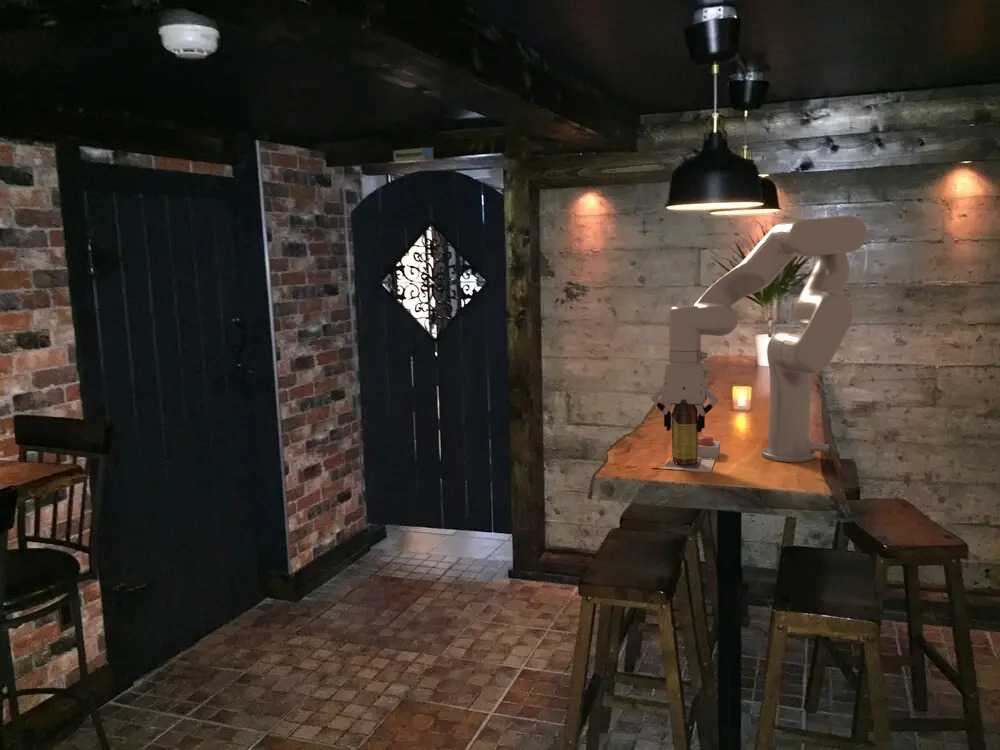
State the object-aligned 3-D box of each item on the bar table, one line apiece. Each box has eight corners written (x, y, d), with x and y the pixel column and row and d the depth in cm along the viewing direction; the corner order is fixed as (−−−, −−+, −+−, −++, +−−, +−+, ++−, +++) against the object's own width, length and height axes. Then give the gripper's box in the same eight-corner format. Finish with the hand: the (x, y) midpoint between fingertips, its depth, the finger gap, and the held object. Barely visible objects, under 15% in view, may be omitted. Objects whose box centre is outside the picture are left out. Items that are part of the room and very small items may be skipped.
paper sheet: (715, 460, 205) (715, 458, 205) (710, 472, 194) (710, 470, 193) (658, 456, 209) (658, 455, 209) (650, 468, 198) (650, 467, 198)
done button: (713, 447, 211) (713, 436, 210) (712, 451, 207) (712, 439, 207) (697, 447, 212) (697, 435, 212) (695, 450, 208) (695, 438, 208)
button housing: (719, 452, 212) (720, 441, 212) (717, 459, 205) (717, 447, 205) (692, 451, 214) (692, 439, 214) (688, 457, 208) (689, 445, 207)
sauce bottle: (679, 458, 206) (680, 379, 203) (702, 461, 202) (703, 381, 199) (666, 463, 201) (667, 382, 198) (690, 467, 197) (691, 385, 194)
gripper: (723, 356, 198) (722, 428, 201) (650, 354, 204) (650, 425, 207) (721, 360, 191) (720, 435, 194) (645, 358, 197) (645, 432, 200)
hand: (684, 429), depth 200 cm, fingers open, 6 cm apart
